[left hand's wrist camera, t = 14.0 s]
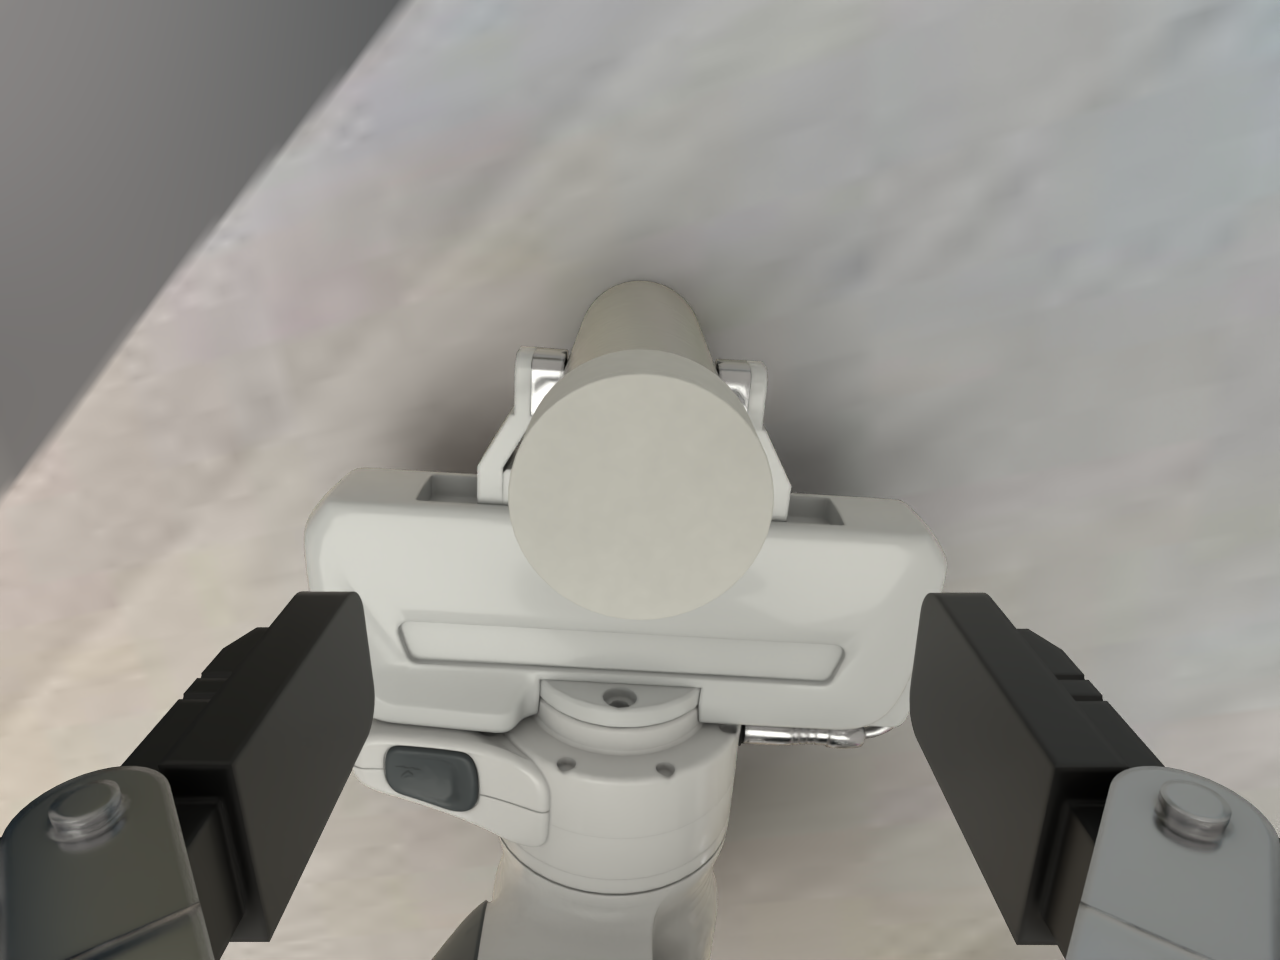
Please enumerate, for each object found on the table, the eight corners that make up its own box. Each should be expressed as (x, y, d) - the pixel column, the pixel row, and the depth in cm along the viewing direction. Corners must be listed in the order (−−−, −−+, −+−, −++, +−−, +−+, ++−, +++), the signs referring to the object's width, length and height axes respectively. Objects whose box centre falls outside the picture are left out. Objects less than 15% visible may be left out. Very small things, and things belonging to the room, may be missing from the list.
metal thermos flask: (702, 280, 31) (762, 384, 16) (699, 401, 32) (749, 597, 18) (577, 280, 31) (520, 383, 16) (580, 401, 32) (531, 597, 18)
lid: (764, 348, 18) (782, 374, 15) (752, 570, 19) (766, 621, 17) (517, 347, 18) (500, 373, 15) (528, 570, 19) (514, 620, 17)
